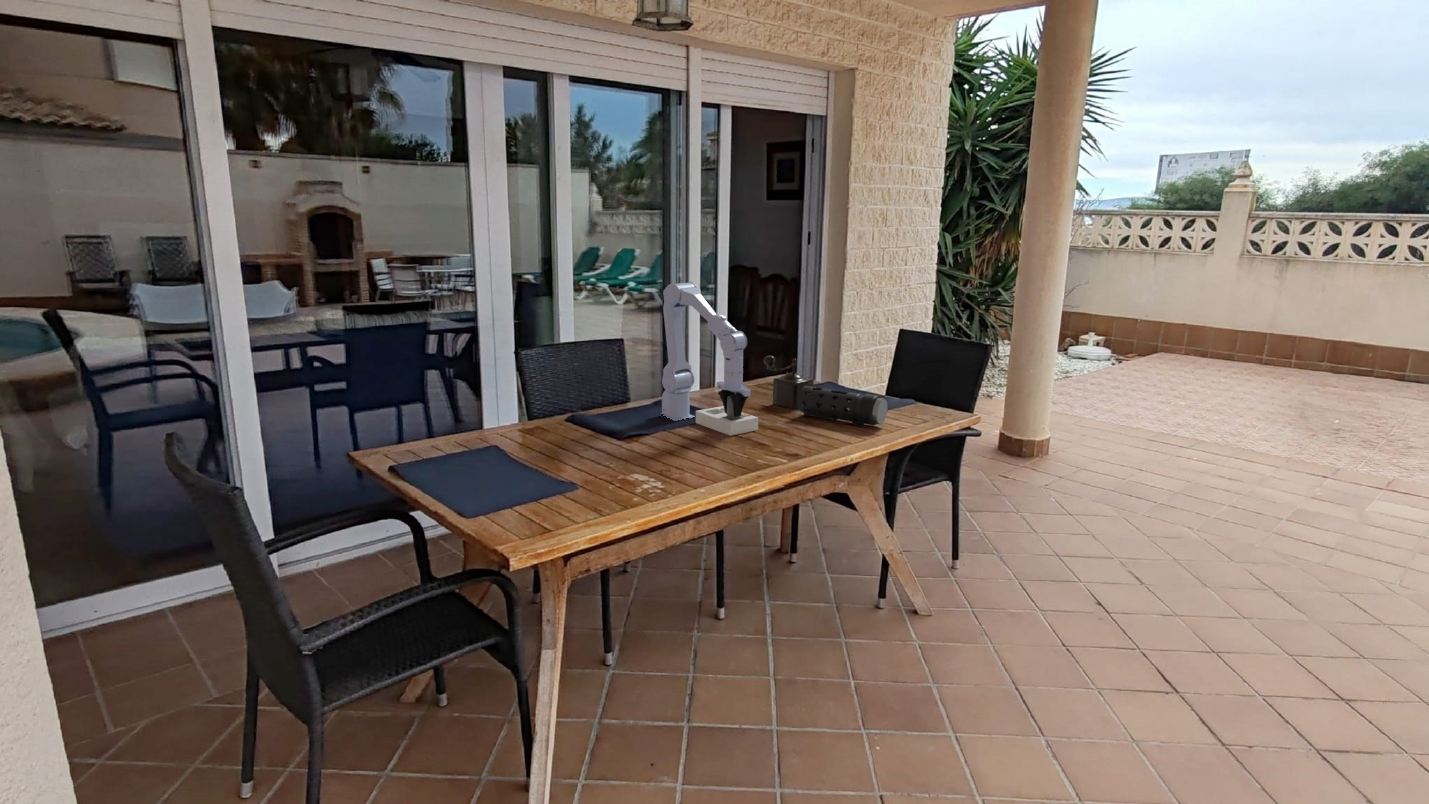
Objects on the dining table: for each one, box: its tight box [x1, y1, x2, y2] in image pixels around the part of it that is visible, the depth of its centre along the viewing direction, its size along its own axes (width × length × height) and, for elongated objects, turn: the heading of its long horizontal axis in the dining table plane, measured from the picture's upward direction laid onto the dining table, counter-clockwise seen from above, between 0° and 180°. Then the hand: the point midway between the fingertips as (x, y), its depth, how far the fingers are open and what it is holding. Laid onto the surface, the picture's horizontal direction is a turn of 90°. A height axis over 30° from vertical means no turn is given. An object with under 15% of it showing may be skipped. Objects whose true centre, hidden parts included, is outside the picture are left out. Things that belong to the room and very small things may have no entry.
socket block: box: [695, 405, 759, 436], centre depth 241 cm, size 18×11×4 cm, turn 37°
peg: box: [727, 396, 740, 421], centre depth 236 cm, size 4×4×8 cm
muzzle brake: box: [797, 386, 888, 426], centre depth 247 cm, size 10×28×10 cm, turn 54°
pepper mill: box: [763, 355, 815, 410], centre depth 266 cm, size 16×11×18 cm
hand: (732, 414), depth 236 cm, fingers closed on peg, 4 cm apart
